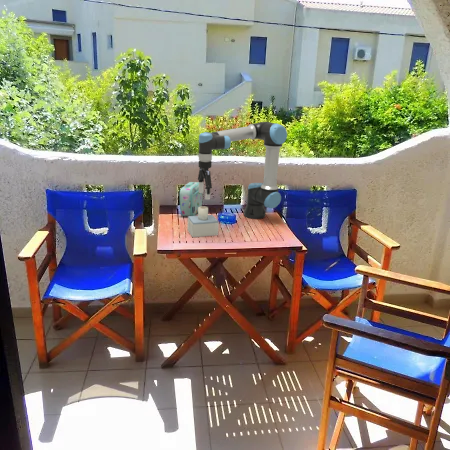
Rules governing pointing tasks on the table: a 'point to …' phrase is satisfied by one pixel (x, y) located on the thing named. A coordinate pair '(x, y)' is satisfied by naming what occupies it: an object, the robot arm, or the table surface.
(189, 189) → the lunch box
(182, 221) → the table surface
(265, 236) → the table surface
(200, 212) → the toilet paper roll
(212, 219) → the lid
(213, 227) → the crate
